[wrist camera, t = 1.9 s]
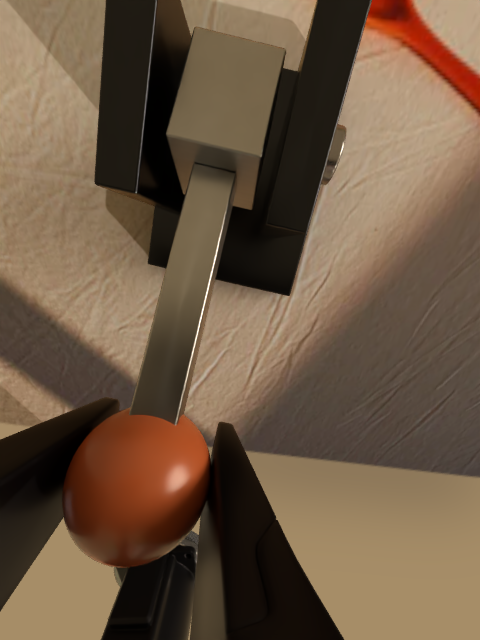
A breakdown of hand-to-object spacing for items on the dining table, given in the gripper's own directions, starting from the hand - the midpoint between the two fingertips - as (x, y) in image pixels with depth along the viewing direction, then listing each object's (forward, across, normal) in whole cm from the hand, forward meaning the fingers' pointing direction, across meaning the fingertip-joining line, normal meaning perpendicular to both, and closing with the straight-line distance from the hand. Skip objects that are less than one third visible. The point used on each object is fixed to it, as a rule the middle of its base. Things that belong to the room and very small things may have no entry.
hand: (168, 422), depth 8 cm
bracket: (+9, 0, -8) cm, 12 cm away
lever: (+1, 0, -4) cm, 4 cm away
